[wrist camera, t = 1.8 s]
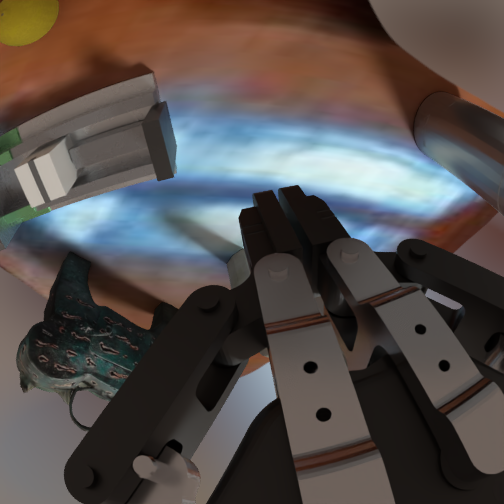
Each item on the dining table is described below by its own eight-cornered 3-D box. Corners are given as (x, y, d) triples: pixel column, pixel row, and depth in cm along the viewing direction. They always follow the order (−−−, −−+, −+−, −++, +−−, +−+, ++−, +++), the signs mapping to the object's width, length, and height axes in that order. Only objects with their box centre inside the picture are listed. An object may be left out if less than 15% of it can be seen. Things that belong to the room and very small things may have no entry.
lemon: (80, -6, 15) (44, -19, 9) (58, 47, 18) (16, 52, 12) (34, -11, 13) (-9, -18, 7) (14, 41, 16) (-32, 48, 10)
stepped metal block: (166, 100, 23) (158, 119, 18) (176, 145, 26) (174, 177, 20) (72, 131, 22) (41, 159, 17) (86, 172, 25) (63, 209, 20)
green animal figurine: (47, 265, 33) (4, 407, 17) (64, 232, 30) (10, 388, 15) (167, 326, 44) (174, 456, 28) (193, 303, 41) (208, 444, 26)
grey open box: (154, 71, 22) (143, 78, 17) (176, 167, 29) (175, 197, 24) (-12, 143, 21) (-44, 168, 16) (21, 216, 28) (-2, 251, 23)
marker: (69, 133, 23) (48, 152, 19) (82, 171, 25) (65, 196, 21) (36, 147, 22) (13, 169, 18) (50, 183, 25) (31, 209, 21)
